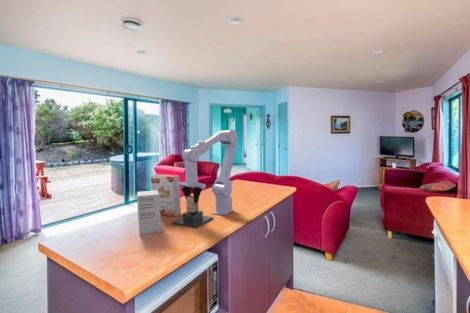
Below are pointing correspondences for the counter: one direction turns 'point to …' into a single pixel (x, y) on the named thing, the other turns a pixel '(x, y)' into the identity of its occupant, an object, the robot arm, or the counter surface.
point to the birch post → (191, 204)
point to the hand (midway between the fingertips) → (192, 202)
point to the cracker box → (167, 193)
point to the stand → (192, 219)
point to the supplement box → (149, 212)
